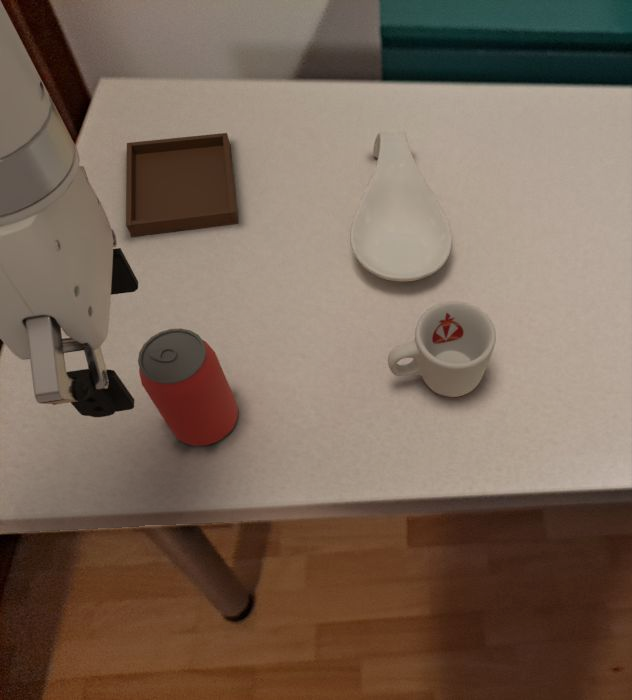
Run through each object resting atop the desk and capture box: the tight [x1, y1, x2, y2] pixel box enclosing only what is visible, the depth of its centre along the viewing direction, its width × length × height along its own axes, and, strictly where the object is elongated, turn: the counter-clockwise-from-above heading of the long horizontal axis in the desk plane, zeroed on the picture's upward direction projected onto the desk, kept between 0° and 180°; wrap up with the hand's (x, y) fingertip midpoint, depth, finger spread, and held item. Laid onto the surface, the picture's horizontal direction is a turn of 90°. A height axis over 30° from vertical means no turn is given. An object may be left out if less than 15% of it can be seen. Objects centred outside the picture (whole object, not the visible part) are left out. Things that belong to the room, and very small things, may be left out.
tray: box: [125, 132, 239, 238], centre depth 85 cm, size 12×14×2 cm
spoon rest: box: [349, 131, 453, 282], centre depth 82 cm, size 24×12×7 cm, turn 8°
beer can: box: [137, 328, 239, 447], centre depth 64 cm, size 7×7×12 cm
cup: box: [387, 300, 497, 398], centre depth 70 cm, size 11×8×8 cm
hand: (113, 346), depth 47 cm, fingers open, 9 cm apart
